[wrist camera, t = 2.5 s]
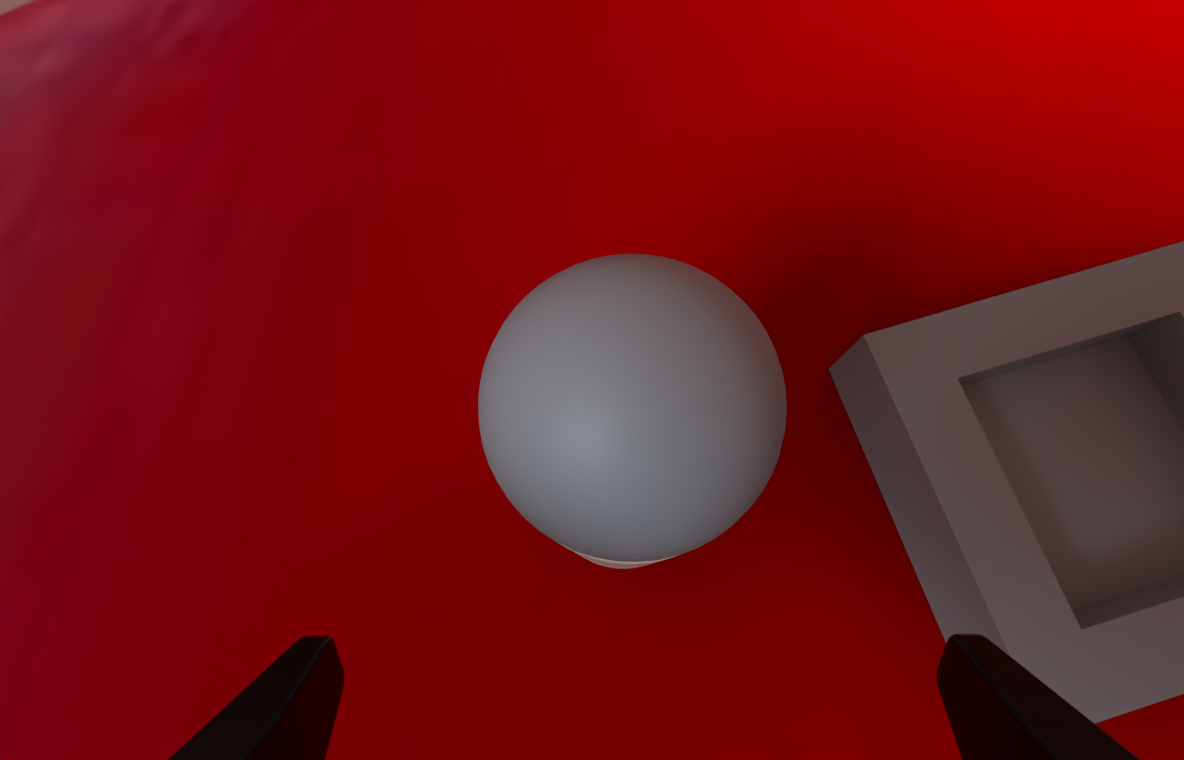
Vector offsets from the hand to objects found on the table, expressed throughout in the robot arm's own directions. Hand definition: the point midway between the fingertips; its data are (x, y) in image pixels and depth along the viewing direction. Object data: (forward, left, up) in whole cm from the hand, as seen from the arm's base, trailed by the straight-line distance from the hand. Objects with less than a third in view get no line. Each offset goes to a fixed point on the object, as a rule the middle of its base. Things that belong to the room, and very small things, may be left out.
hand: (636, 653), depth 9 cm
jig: (0, -15, -11) cm, 18 cm away
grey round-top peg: (+4, -1, -11) cm, 11 cm away
